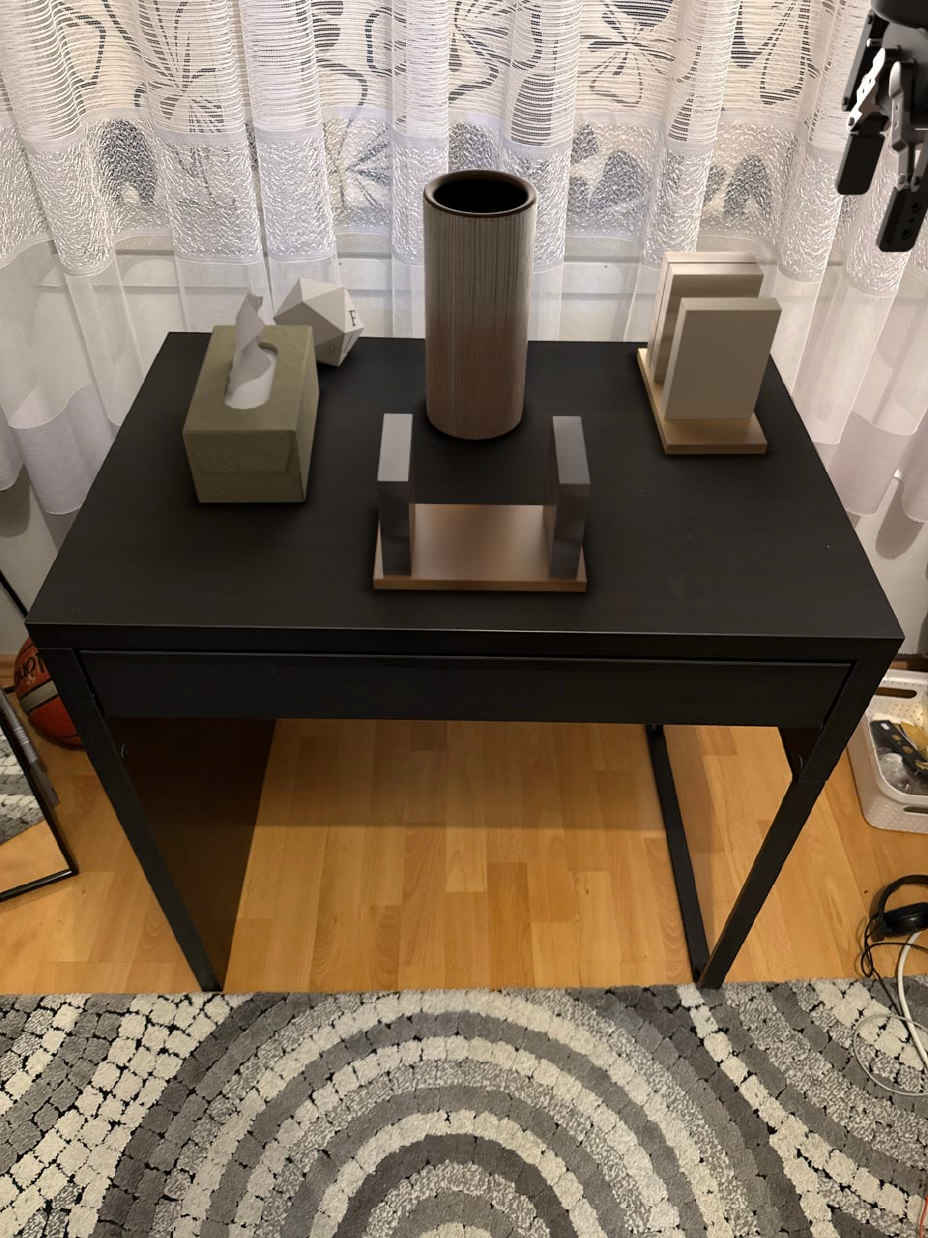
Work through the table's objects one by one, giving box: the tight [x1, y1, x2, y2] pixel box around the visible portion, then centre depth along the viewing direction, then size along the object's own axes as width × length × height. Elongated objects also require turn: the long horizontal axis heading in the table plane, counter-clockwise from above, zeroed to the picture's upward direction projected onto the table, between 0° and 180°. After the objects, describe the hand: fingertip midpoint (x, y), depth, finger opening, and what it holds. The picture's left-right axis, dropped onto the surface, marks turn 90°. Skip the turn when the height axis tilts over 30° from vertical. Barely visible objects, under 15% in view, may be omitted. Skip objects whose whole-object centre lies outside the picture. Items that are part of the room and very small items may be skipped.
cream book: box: [660, 297, 783, 419], centre depth 91 cm, size 2×9×12 cm, turn 92°
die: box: [272, 277, 366, 367], centre depth 101 cm, size 8×9×10 cm
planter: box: [422, 168, 539, 441], centre depth 89 cm, size 10×10×23 cm
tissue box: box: [181, 291, 320, 504], centre depth 87 cm, size 19×10×16 cm, turn 2°
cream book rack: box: [636, 251, 769, 455], centre depth 94 cm, size 18×10×13 cm, turn 2°
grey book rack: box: [372, 413, 592, 593], centre depth 78 cm, size 18×10×11 cm, turn 90°
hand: (870, 220), depth 61 cm, fingers open, 8 cm apart
